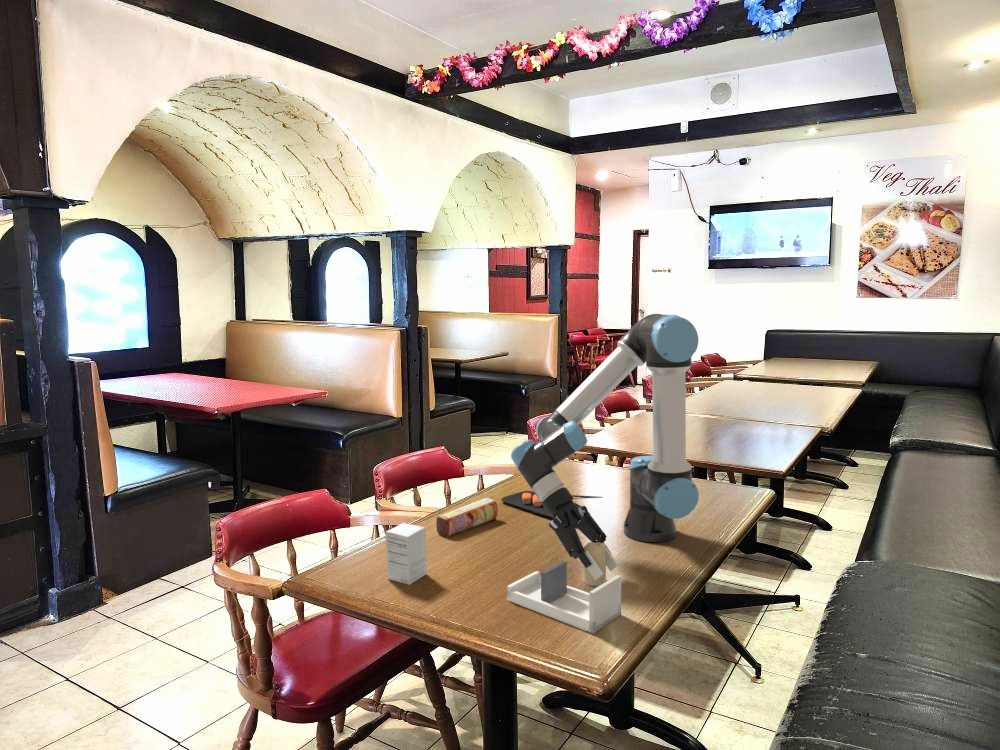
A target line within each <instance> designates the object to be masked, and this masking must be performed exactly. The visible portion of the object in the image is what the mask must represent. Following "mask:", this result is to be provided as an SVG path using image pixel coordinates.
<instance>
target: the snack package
mask: <svg viewBox="0 0 1000 750" xmlns="http://www.w3.org/2000/svg"><path fill="white" fill-rule="evenodd" d="M498 513H499V506H498V503H497V502H496V501H495V500H494V499H492V498H489V497H485V498H482V499H479V500H476V501H474V502H471V503H469V504H467V505H463V506H461V507H459V508H456V509H454V510H450V511H448V512H446V513H443V514H440V515H438V516H437V517H436V523H435V524H436V526H435V527H436V531H437V534H438V535H440V536H443V537H446V538H449V537H451V536H453V535H455V534H458V533H461V532H464V531H467V530H469V529H472V528H475V527H477V526H480V525H482V524H485V523H488V522H490V521H494V520H496V519H497V517H498V515H499V514H498Z"/></svg>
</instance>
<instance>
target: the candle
mask: <svg viewBox="0 0 1000 750" xmlns="http://www.w3.org/2000/svg"><path fill="white" fill-rule="evenodd" d="M583 548H584V550H585V552H586V551H588V552H589V553H590V555H591V556H592V558H593V559H594V561H595V562H596V563H597V565H598V566H599V568H600V569H601V571H602V572H603V575H602V576H600V577H599V578H598V579H597V580H595V579H594V578H593V576H592V575H591V573H590V572H589V570H588V569H587V568H586V567H585V566H584V565H583V571H582V572H583V573H582V575H583V577H582V578H583V583H584V584H585V585H588V586H591V587H598V586H600V585H602V584H603V583H605V582H606V581H607V580H606V579H607V577H606V576H607V575H606V574H607V566H606V548H605V547H604V546H603V545H602V544H601V543H600V542H597V543H594V542H591V541H589V542H588V543H586V545H585V546H583ZM585 552H584V553H585Z"/></svg>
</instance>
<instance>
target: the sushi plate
mask: <svg viewBox="0 0 1000 750" xmlns="http://www.w3.org/2000/svg"><path fill="white" fill-rule="evenodd" d="M571 495H572V497H573V498H582V499H583V498H585V499H587V498H588V499H592V498H593V499H594V498H595V499H597V498H599V499H601V498H603V496H596V495H594V496H593V495H592V496H591V495H575V494H571ZM500 500H501V502H503V503H506V504H508V505H511V506H514V507H518V508H520V509H523V510H526V511H530V512H532V513H535V514H539V515H540V516H541V515H542V516H544V517H548V518H551V519H554V517H553V515H549V514H548V512H547V511H546V509H545V508H544V506H543V505H542V504H543V501H540V500H539V499H538V497H537V496H536V494H535V493H534V491H533V490H525V491H519V492H516V493H513V494H509V495H507V496H504V497H501V498H500ZM573 504H574V505H576V506H577V507H578V508H581V507H582V506H583V505H580V504H578V503H577V502H574V501H573Z"/></svg>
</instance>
